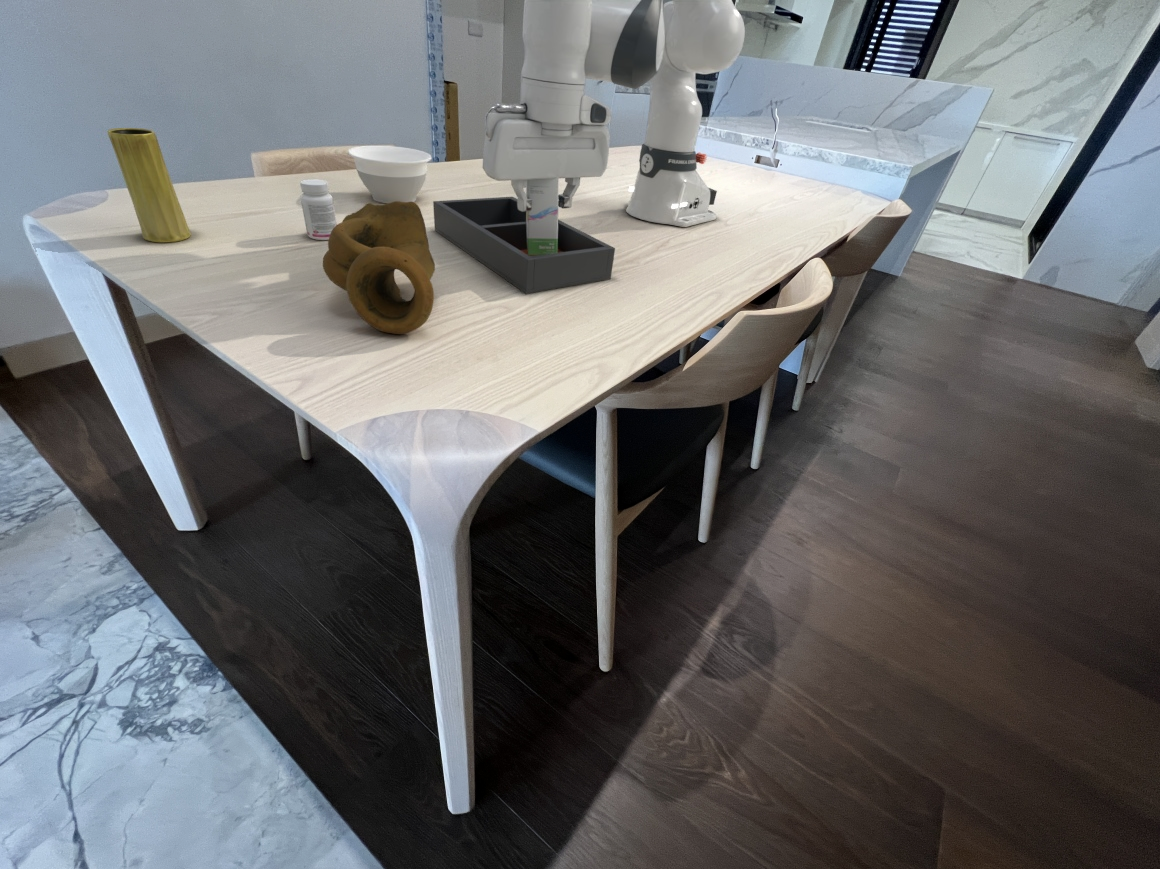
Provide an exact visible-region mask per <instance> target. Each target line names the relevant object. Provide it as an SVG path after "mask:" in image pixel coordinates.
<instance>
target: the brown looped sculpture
mask: <svg viewBox="0 0 1160 869" xmlns="http://www.w3.org/2000/svg"><path fill="white" fill-rule="evenodd" d="M327 241H328V242H327V247H328V250H327V251H326V252H325V253H324V255H323V258H322V269H323V272H324V273H325V275H326V277H327V278H328V279H329V280H330V281H331V282H332V283H333V284H334V285H336V286H337V287H339V288H341V289H342V290H344V291H346V293H347V298H348V301H349V303H350V304H351V305H352V307H353V309H354V310H355V312H356V313H357V314H358V316H359V317H360V318H361V319H362V320H363V321H364V322H365V323H367V325H369V326H371V327H372V328H374V329H376V330H377V331H379V332H382V333H386V334H393V335H405V334H408V333H411V332H414V331H416V330H417V329H419V328H420V327H422V326H423V325H424V324H425V323H426V322H427V321H428V319H429V317H430V316H431V314H432V311H433V306H434V300H435V297H434V296H435V294H434V293H435V292H434V287H433V284H432V282H431V280H432V278H433V275H434V273H435V272H436V271H435V270H436V263H435V260H434V258H433V255H432V253H431V251H430V246H429V244H430V243H429V238H428V235H427V227H426V224H425V219H424V216H423V213H422V210H421V207H420V206H419V205H418V204H417V203H416V202H400V201H394V202H391V203H383V204H374V203H371V202H367V203H366V204H365V205H364V206H363V207H361V208H360V209H358V210H357V211H355V212H352V213H351V214H347V215H346V216H344V218H343V220H342V221H341V222H340V223H337V225H336V226H335V227H334V228H333V230H332V231H331V234H330V237H329V240H327ZM396 270H398V271H400V272H401V273H402V274H404V276H406V278H407V279H408V280H409V281H410V283H411V285H412V287H413V290H414V292H413V296H412V297H411V299H410V300H406V299H404V298H403V297H402V295H401V289H400V287H399V286H398V285H397V282H396V280H395V278H396V277H395V271H396Z"/></svg>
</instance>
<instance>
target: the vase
mask: <svg viewBox="0 0 1160 869" xmlns="http://www.w3.org/2000/svg"><path fill="white" fill-rule="evenodd" d="M106 132H107V136H108V138H109V141H110V143H111V145H112V147H113V151H114V153H115V157H116V159H117V163H118V165H119V168H120V171H121V174H122V178H123V180H124V182H125V186H126V189H127V191H128V193H129V197H130V200H131V203H132V205H133V208H134V209H133V210H134V212H135V214H136V217H137V220H138V225H139V226H140V227H139V228H140V229H141V233H142V234H141V237H142V238H143V239H144V240H145V241H149V242H152V243H175V242H181V241H184V240H187V239H189V238H191V235H192V232H191V230H190V227H189V225H188V223H187V220H186V217H185V215H184V212H183V209H182V206H181V204H180V201H179V199H178V196H177V193H176V190H175V187H174V184H173V182H172V179H171V177H170V176H171V175H170V174H169V171H168V167H167V164H166V162H165V159H164V155H163V152H162V150H161V146H160V144H159V140H158V138H157V134H156V132H155V130H152V129H147V128H141V127H115V128H114V127H113V128H110V129H108V130H107V131H106Z"/></svg>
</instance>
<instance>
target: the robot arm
mask: <svg viewBox="0 0 1160 869" xmlns="http://www.w3.org/2000/svg"><path fill="white" fill-rule="evenodd" d="M745 35H746V28H745V22H744V19H743V16H742V15H741V13H740V12H739V9H737V7H736V6H735V4H734V2H733V0H670V1H667V2H665V0H524V4H523V16H522V42H523V49H524V59H523V60H524V61H523V65H522V68H521V71H520V72H521V73H520V91H519V92H520V94H519V95H520V96H519V97H520V98H519V103H515V102H514V103H505V102H496V103H494V105H493V106H491V107H490V108H489V109H488V110H487V112H486V113H485V114H484V115H485V116H484V132H485V136H484V143H483V151H482V152H483V153H482V170H483V171H484V173H485V174H486V176H487V177H489V178H491V180H492V179H493V180H495V181H498V182H506V181H510V182H511V183H510V185H511V188H512V190H513V191H514V193H515V196H516V198H517V199H518V202H517V207H518V210H520V211H522V212H525V211H531V209H532V207H531V205H532V199H530V198H528V197H526V191H525V189H526V187H527V180H532V179H554V178H557V177H558V179H564V182H565V183H566V185H565V188H564V190H563V192H562V193H560V194H559V193H558V208H561V209H571V208H572V205H573V197H574V196H575V194H576V192H577V191H578V189H579V188H580V185H581V179H582V178H601V177H602V176H603V175H604V173H605V172H606V171H607V168H608V164H609V163H608V161H609V154H610V140H611V139H610V138H611V137H610V130H609V128H608V126H607V125H609V124H610V122H611V120H612V119H611V118H612V109H611V108H610V107H608V106H607V105H605V104H603V103H602V102H600V101H598V100H596V99H594V98H592V97H591V96H589V95H587V94H586V83H587V82H586V81H587V80H594V81H595V80H596V81H601V82H608V83H612V84H614V85H618V86H621V87H625V88H629V89H633V90H637V89H639V88H640V87H642V86H644V85H645V84H647V83H648V82H649V83H648V84H649V106H648V113H647V114H648V116H647V121H646V128H645V135H644V142H643V143H642V144H641V149H640V151H639V159H638V162H639V170H638V171H637V174H636V178H635V181H634V185H633V186H631V185H630V186H629V187H628V192H632V193H631V197H630V199H629V201H628V203H627V207H626V210H625V211H626V214H628V215H630V216H631V217H634V218H636V219H640V220H643V221H646V222H650V223H655V224H665V225H671V226H676V227H682V228H688V227H691V226H695V225H699V224H704V223H708V222H711V221H714V220H717V217H718V215H717V213H715V212H714V211H712V210H711V209H709V207H710V206H713V205H715V200H716V197H717V193H718V190H716V189H713V188H711V187H708V185H707V184H706V183H705V181H704V180H703V179H702V177H701V176H700V174H699V173H698V171H697V169H698V167H697V165H698V164H697V163H699V164H701V165H704V164H705V163H706V162H707V157H708V156H707V154H706V153H701V152H696V151H695V150H696V145H697V140H698V136H699V131H700V127H701V121H702V116H703V106H702V104H701V101H700V99H699V97H698V93H697V86H696V84H697V83H696V74H700V75H709V74H715V73H718V72H722V71H725V70H727V69H729V68H730V67H731V66H732V65H733V64H734V63H735V62H736V61H737V59H738V57H739V56H740V54H741V52H742V50H743V46H744V43H745V38H746V37H745ZM586 79H587V80H586ZM524 188H525V189H524Z"/></svg>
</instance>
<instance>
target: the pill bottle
mask: <svg viewBox="0 0 1160 869" xmlns="http://www.w3.org/2000/svg"><path fill="white" fill-rule="evenodd" d="M299 184H300V190H301V195H300V203H301V209H302V213H303V219H304V224H305V230H306V234H307V236H308V238H310V239H313V240H317V241H329V237H330V234H331V231H332V230H333V228H334V227H335V226H336V225H338V223H337V218H336V211H335V205H334V198H333V196H332V195H331V194H330V188H329V184H328V181H327V180H325V179H324V180H323V179H317V178H310V179H309V178H308V179H303V180H300V182H299Z"/></svg>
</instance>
